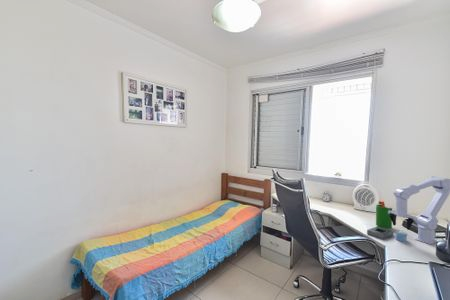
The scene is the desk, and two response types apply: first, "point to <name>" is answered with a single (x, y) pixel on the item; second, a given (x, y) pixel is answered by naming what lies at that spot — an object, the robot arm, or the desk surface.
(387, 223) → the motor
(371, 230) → the chassis
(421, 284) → the desk surface
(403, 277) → the desk surface
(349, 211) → the desk surface
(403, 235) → the servo
